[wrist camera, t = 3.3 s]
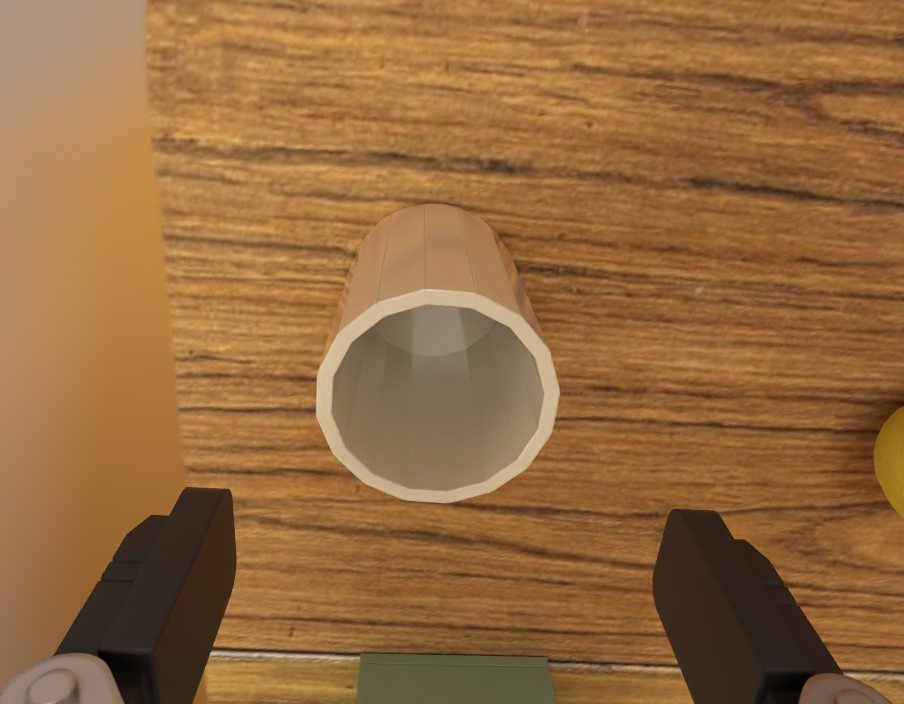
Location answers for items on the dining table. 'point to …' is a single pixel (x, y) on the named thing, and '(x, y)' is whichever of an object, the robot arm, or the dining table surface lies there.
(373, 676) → the holder
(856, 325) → the dining table surface
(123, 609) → the robot arm
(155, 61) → the dining table surface
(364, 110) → the dining table surface
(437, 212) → the cup
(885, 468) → the lemon
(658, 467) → the dining table surface
